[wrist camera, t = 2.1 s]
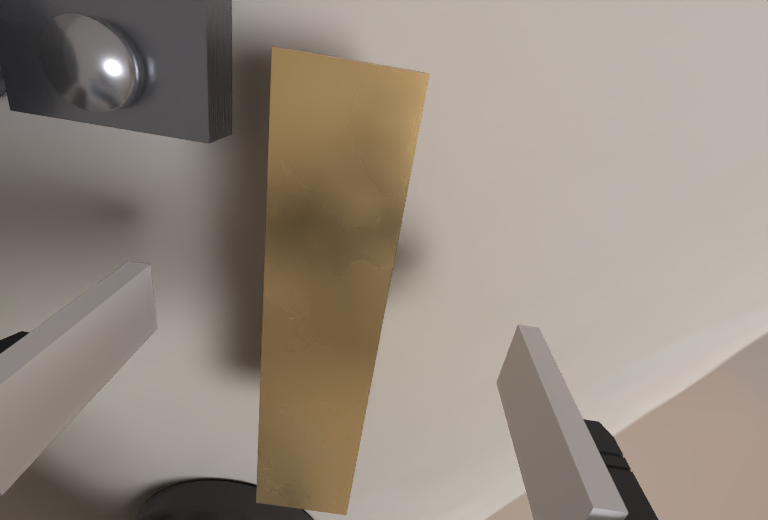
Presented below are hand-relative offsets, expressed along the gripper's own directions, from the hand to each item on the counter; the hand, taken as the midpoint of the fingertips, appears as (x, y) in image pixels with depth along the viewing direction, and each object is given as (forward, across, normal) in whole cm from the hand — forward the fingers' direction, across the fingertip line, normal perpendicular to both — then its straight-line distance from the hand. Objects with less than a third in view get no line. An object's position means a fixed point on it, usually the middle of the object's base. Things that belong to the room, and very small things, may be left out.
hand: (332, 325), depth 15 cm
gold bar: (+7, 0, 0) cm, 7 cm away
